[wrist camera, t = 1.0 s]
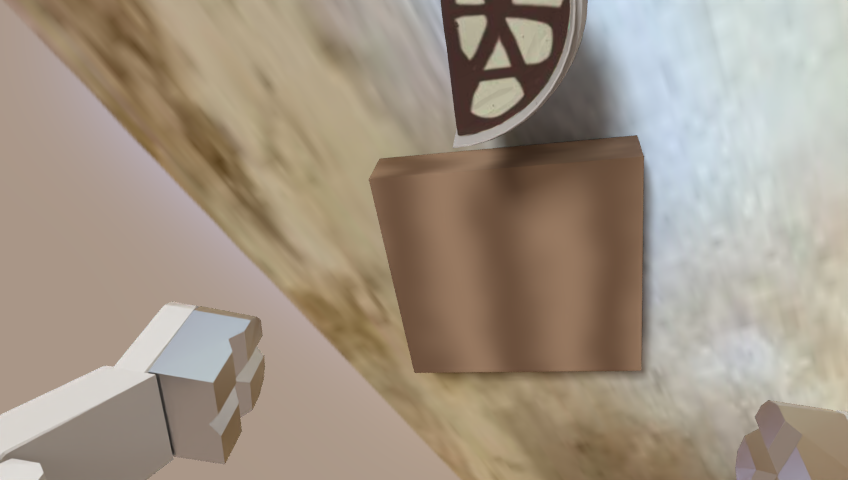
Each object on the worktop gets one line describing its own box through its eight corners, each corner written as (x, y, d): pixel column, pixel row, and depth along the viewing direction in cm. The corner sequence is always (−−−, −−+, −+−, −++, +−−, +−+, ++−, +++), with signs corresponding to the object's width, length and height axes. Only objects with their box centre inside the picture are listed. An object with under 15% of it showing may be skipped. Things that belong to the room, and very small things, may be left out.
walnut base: (637, 135, 37) (643, 156, 35) (635, 341, 45) (641, 370, 43) (379, 158, 41) (368, 179, 38) (421, 345, 49) (414, 372, 46)
